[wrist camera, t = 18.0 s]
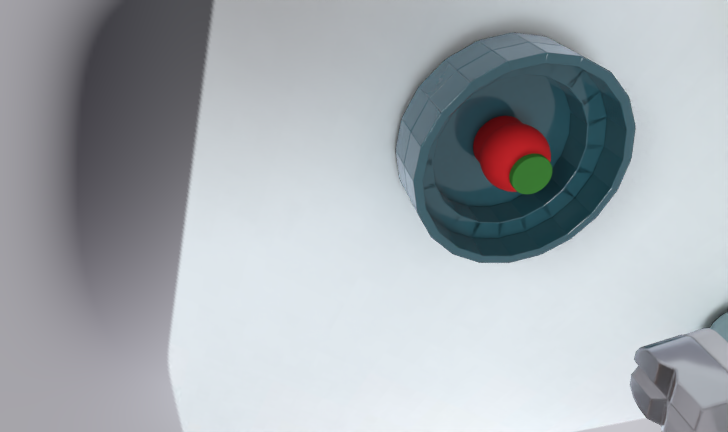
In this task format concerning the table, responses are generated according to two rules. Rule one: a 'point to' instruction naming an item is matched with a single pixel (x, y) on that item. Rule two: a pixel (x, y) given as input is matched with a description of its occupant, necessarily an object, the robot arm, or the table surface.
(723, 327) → the cup
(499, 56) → the bowl
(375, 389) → the table surface
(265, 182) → the table surface
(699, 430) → the robot arm
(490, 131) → the strawberry
